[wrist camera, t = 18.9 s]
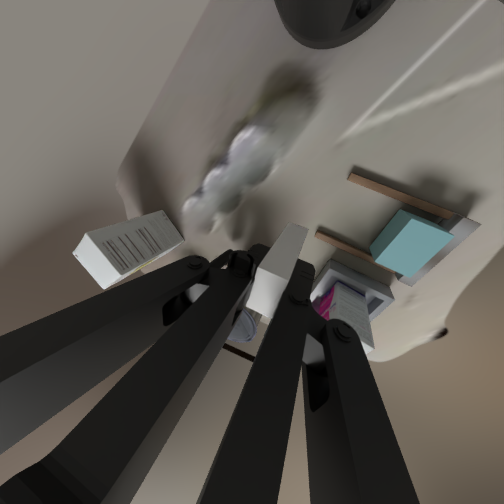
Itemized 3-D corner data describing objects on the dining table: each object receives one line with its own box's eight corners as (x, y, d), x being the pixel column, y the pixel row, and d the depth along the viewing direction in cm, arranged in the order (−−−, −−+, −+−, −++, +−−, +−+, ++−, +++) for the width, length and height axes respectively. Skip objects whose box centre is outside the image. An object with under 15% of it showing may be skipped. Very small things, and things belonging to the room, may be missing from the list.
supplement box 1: (166, 254, 51) (103, 291, 37) (144, 226, 49) (70, 253, 35) (185, 240, 46) (121, 276, 32) (162, 208, 44) (83, 232, 30)
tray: (330, 258, 34) (329, 268, 31) (389, 287, 32) (394, 299, 29) (303, 297, 40) (300, 308, 37) (352, 323, 38) (353, 336, 35)
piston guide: (351, 172, 27) (352, 174, 25) (466, 217, 25) (481, 224, 22) (315, 234, 33) (313, 241, 31) (405, 276, 31) (411, 286, 28)
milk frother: (287, 271, 39) (266, 324, 27) (257, 312, 48) (230, 366, 35) (231, 236, 40) (186, 270, 28) (211, 282, 49) (171, 324, 37)
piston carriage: (400, 208, 27) (411, 218, 23) (436, 223, 26) (455, 236, 22) (369, 247, 31) (374, 261, 26) (399, 261, 30) (410, 278, 26)
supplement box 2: (336, 278, 34) (337, 325, 25) (366, 295, 34) (378, 350, 24) (319, 297, 37) (313, 345, 28) (345, 313, 37) (349, 368, 27)
